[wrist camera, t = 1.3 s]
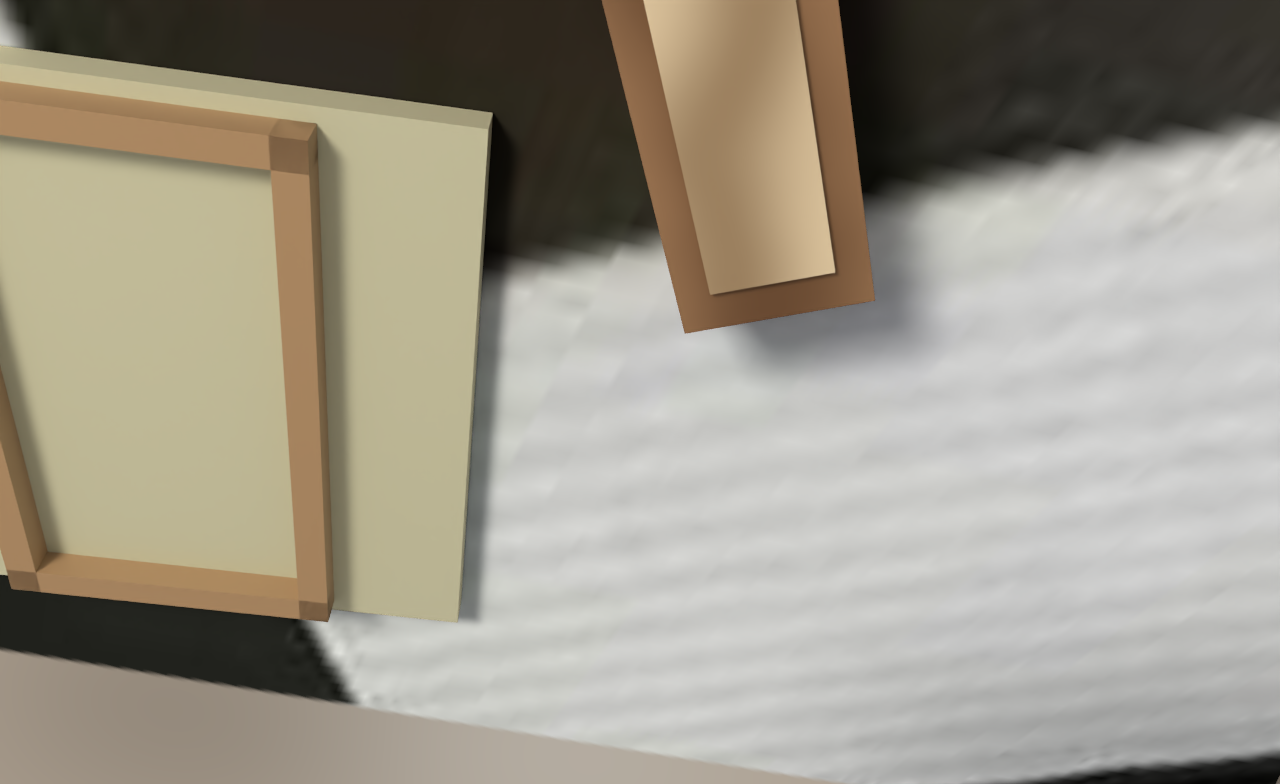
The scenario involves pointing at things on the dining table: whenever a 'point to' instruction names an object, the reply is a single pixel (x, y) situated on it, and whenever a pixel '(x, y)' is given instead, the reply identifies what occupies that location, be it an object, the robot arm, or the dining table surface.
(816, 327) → the dining table surface
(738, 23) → the wooden block
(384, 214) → the mount board
